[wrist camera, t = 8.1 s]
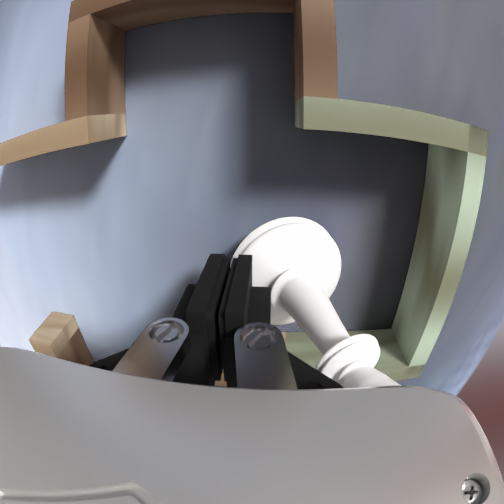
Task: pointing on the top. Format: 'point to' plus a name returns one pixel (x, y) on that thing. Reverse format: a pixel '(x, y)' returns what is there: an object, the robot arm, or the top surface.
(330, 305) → the chess piece
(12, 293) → the top surface
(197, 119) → the top surface
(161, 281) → the top surface
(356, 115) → the box
